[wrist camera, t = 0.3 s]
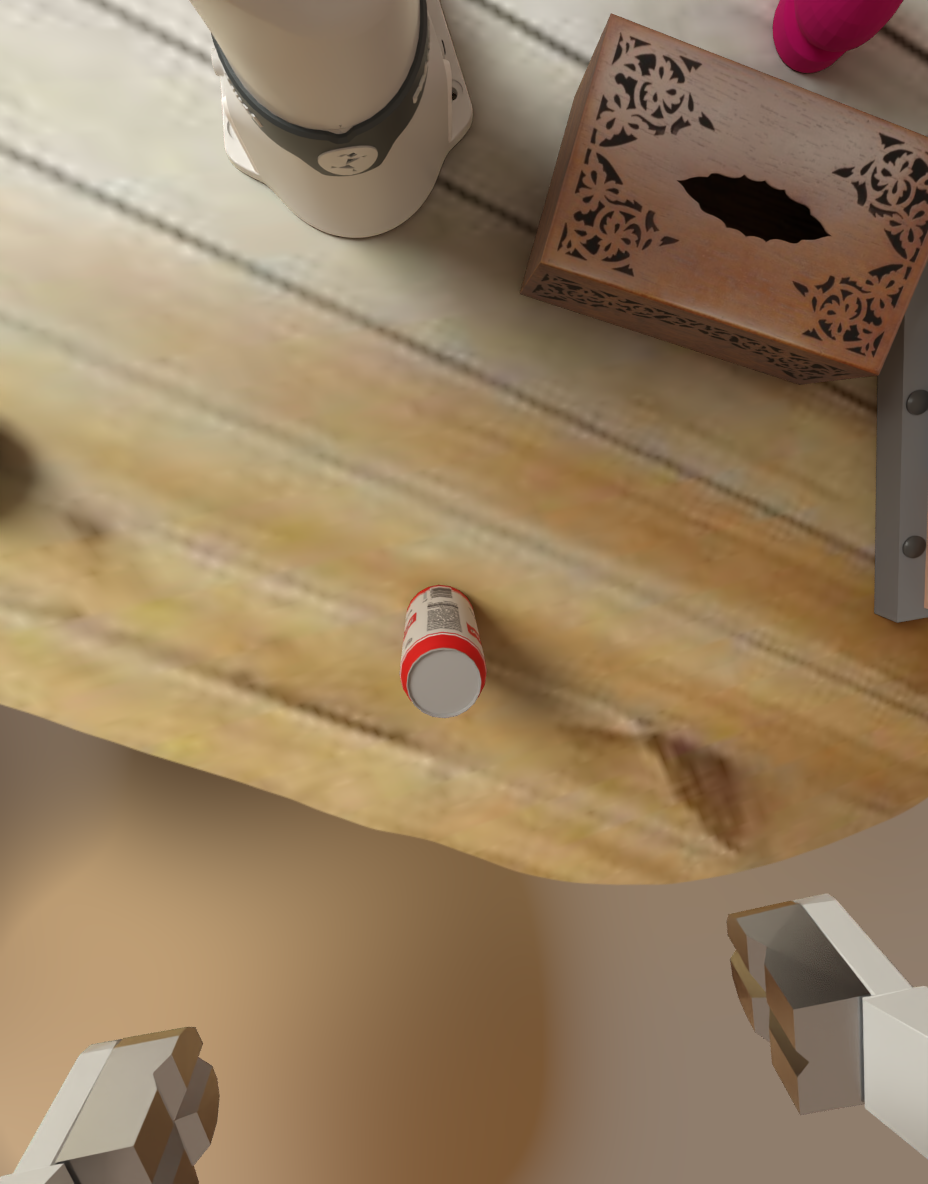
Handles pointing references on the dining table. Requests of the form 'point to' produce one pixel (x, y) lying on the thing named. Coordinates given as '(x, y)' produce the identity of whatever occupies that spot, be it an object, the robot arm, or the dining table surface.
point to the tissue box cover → (731, 212)
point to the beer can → (442, 653)
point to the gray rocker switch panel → (903, 468)
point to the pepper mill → (826, 29)
